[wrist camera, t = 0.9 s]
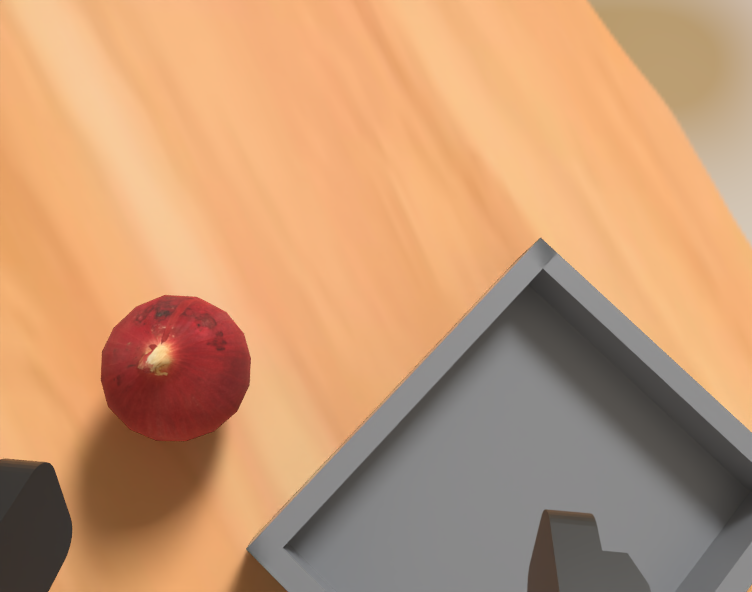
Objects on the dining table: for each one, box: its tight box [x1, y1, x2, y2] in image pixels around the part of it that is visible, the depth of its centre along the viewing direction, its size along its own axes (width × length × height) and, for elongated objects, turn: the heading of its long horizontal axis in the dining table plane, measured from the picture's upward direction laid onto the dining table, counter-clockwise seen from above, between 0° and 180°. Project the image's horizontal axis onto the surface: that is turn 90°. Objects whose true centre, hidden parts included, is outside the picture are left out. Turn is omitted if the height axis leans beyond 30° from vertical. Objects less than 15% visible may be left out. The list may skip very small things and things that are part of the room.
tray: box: [246, 238, 752, 592], centre depth 30 cm, size 16×18×4 cm
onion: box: [101, 295, 251, 441], centre depth 28 cm, size 6×6×8 cm
